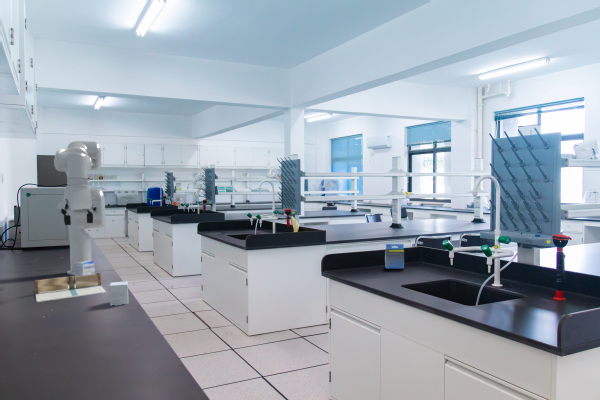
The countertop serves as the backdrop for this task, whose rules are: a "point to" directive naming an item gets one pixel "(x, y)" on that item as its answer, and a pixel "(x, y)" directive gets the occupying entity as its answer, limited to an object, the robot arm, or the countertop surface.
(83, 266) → the medicine box
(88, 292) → the card
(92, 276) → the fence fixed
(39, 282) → the fence panel
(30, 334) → the countertop surface
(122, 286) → the product box
